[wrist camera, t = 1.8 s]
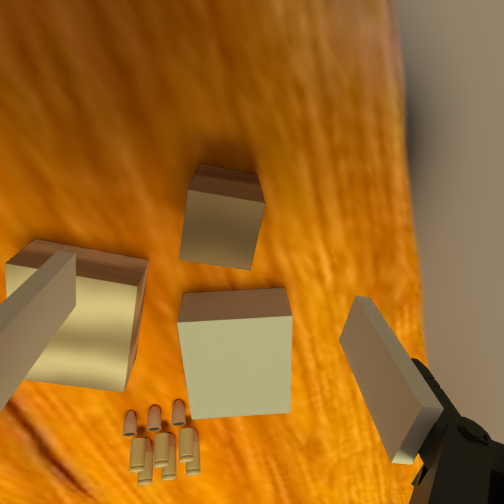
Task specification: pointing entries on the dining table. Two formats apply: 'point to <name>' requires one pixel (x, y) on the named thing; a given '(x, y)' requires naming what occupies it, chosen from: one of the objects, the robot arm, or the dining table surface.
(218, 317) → the grey painted block
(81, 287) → the pale oak block
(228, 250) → the walnut block
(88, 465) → the dining table surface
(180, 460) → the ammunition
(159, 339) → the dining table surface
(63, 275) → the robot arm
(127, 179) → the dining table surface
